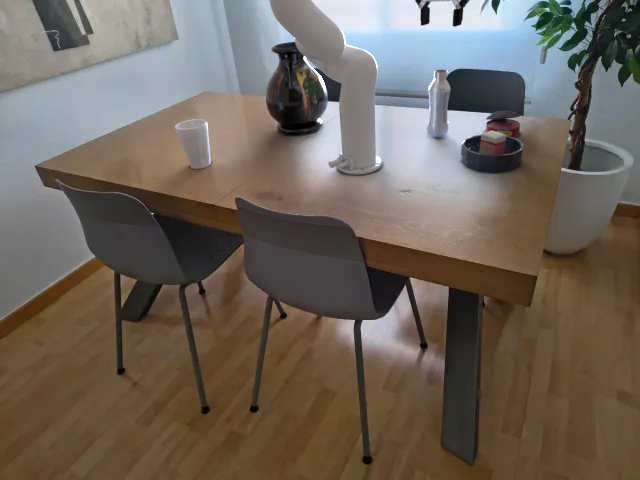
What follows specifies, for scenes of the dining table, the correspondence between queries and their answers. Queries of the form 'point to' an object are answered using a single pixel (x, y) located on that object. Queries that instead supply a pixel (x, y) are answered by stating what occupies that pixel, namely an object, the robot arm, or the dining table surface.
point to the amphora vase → (295, 93)
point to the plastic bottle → (438, 104)
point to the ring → (491, 162)
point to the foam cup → (195, 142)
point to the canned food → (503, 123)
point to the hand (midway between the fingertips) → (440, 25)
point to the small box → (492, 143)
